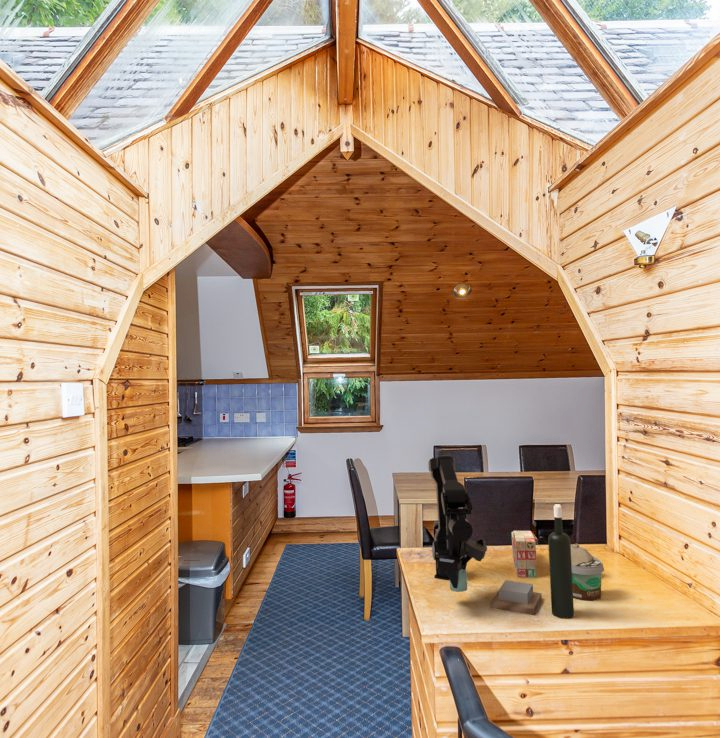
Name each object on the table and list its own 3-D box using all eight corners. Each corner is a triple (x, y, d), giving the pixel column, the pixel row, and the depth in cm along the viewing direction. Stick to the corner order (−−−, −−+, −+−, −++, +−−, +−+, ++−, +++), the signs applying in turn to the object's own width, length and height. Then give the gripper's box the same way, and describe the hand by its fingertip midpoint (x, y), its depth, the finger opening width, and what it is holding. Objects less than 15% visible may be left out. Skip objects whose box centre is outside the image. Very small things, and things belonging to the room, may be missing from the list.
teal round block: (447, 590, 154) (446, 572, 154) (453, 584, 158) (452, 567, 158) (464, 592, 151) (463, 575, 151) (469, 586, 156) (468, 569, 156)
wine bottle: (562, 620, 142) (557, 508, 143) (547, 612, 147) (542, 503, 148) (578, 615, 144) (573, 505, 145) (562, 608, 149) (557, 501, 150)
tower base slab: (490, 610, 151) (490, 601, 151) (501, 595, 161) (500, 587, 162) (534, 617, 145) (533, 608, 145) (541, 601, 156) (541, 593, 156)
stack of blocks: (512, 557, 195) (510, 523, 195) (529, 557, 193) (528, 523, 194) (517, 578, 174) (515, 540, 174) (537, 578, 172) (535, 540, 173)
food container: (586, 606, 150) (584, 570, 150) (568, 598, 155) (566, 564, 156) (614, 596, 156) (612, 562, 156) (596, 590, 161) (595, 556, 162)
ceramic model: (607, 577, 172) (605, 546, 172) (584, 584, 166) (582, 552, 167) (571, 565, 184) (569, 536, 184) (548, 571, 179) (547, 541, 179)
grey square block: (499, 599, 152) (498, 589, 152) (505, 590, 159) (505, 580, 159) (527, 604, 148) (527, 593, 148) (533, 594, 155) (532, 584, 155)
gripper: (473, 543, 143) (476, 601, 142) (491, 525, 159) (494, 578, 159) (434, 538, 148) (437, 594, 148) (456, 522, 165) (458, 573, 164)
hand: (458, 584), depth 155 cm, fingers closed on teal round block, 5 cm apart
